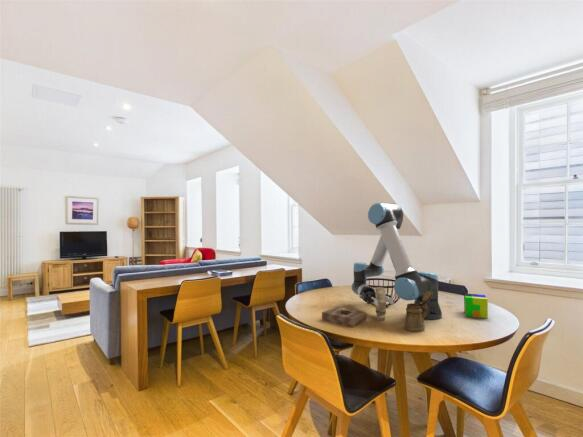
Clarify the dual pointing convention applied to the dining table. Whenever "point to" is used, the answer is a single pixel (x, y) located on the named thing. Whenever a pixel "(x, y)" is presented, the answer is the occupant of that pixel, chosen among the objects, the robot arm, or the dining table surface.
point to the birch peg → (381, 303)
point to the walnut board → (344, 316)
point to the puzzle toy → (475, 305)
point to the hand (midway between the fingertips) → (384, 302)
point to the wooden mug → (417, 314)
